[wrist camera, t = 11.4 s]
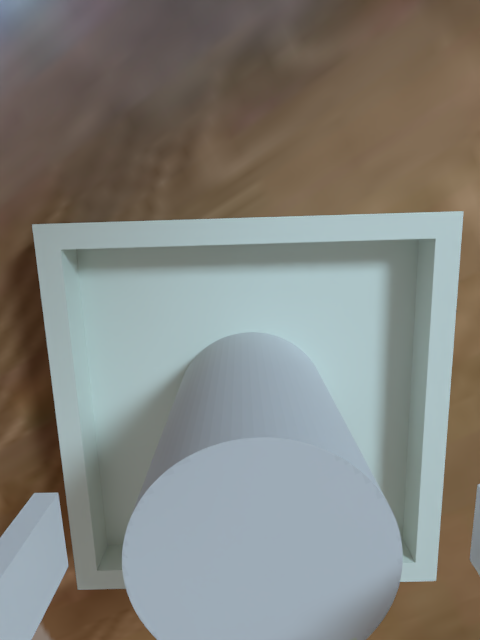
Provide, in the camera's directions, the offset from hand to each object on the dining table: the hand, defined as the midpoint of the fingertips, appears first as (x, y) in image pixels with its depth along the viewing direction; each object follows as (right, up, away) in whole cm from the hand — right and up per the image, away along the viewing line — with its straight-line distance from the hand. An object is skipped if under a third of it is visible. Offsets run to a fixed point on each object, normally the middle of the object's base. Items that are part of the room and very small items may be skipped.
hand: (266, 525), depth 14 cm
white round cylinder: (0, +2, +11) cm, 11 cm away
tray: (0, +2, +12) cm, 12 cm away
